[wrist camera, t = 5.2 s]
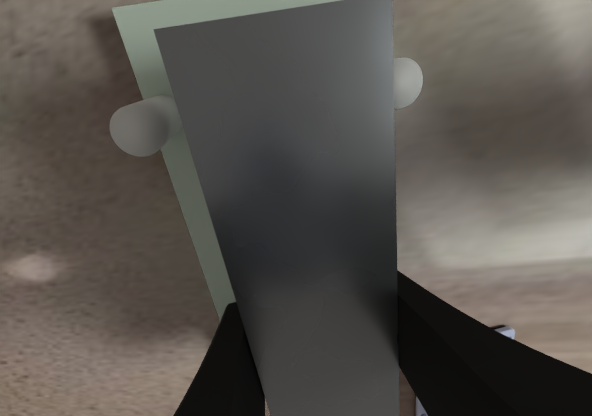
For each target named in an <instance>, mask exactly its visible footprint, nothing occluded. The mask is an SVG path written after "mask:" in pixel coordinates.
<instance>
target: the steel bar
mask: <svg viewBox="0 0 592 416" xmlns="http://www.w3.org/2000/svg"><path fill="white" fill-rule="evenodd" d="M153 30H154V33H155V37H156V40H157V43H158V47H159V50H160V53H161V56H162V60H163V63H164V66H165V70H166V73H167V76H168V79H169V83H170V86H171V89H172V93H173V96H174V99H175V102H176V106H177V109H178V112H179V116H180V119H181V122H182V125H183V129H184V132H185V135H186V139H187V142H188V145H189V148H190V152H191V155H192V158H193V162H194V165H195V168H196V171H197V175H198V178H199V181H200V185H201V188H202V191H203V194H204V198H205V201H206V204H207V208H208V211H209V214H210V217H211V221H212V224H213V227H214V231H215V234H216V237H217V240H218V244H219V247H220V250H221V254H222V257H223V260H224V263H225V267H226V270H227V273H228V277H229V280H230V283H231V286H232V290H233V293H234V296H235V300H236V303H237V306H238V309H239V313H240V316H241V319H242V323H243V326H244V329H245V332H246V336H247V339H248V342H249V346H250V349H251V352H252V355H253V359H254V362H255V365H256V369H257V372H258V375H259V378H260V382H261V385H262V388H263V392H264V395H265V398H266V401H267V405H268V408H269V411H270V415H271V416H400V401H399V345H398V289H397V234H396V178H395V123H394V67H393V12H392V0H340V1H334V2H328V3H321V4H315V5H308V6H302V7H295V8H289V9H282V10H276V11H269V12H263V13H256V14H250V15H243V16H237V17H230V18H224V19H217V20H211V21H204V22H198V23H191V24H185V25H178V26H172V27H166V28H159V29H153Z"/></svg>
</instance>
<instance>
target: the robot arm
mask: <svg viewBox="0 0 592 416" xmlns="http://www.w3.org/2000/svg"><path fill="white" fill-rule="evenodd" d="M397 289H398V345H399V366H400V368H401V370H402V372H403V373H404V375H405V377H406V379H407V380H408V382H409V384H410V385H411V387H412V389H413V391H414V392H415V394H416V416H592V374H591V373H588V372H586V371H583V370H581V369H579V368H576V367H574V366H571V365H569V364H567V363H564V362H562V361H559V360H557V359H555V358H552V357H550V356H548V355H545V354H543V353H541V352H539V351H537V350H534V349H532V348H530V347H528V346H526V345H524V344H522V343H520V342H518V341H516V340H514V335H515V330H514V329H513V328H512V327H510V326H507V327H503V328H499V329H495V330H493V329H492V328H490V327H488V326H486V325H484V324H482V323H481V322H479V321H477V320H475V319H473V318H472V317H470V316H468V315H466V314H465V313H463V312H461V311H459V310H458V309H456V308H454V307H453V306H451V305H449V304H448V303H446V302H445V301H443V300H441V299H440V298H438V297H437V296H435V295H434V294H432V293H430V292H429V291H427V290H426V289H424V288H423V287H421V286H420V285H418V284H417V283H415V282H414V281H412V280H411V279H409V278H408V277H406V276H405V275H403V274H402V273H401V272H399V271H398V270H397ZM174 416H265V395H264V392H263V388H262V385H261V382H260V378H259V375H258V372H257V369H256V365H255V362H254V359H253V355H252V352H251V349H250V346H249V342H248V339H247V336H246V332H245V329H244V326H243V323H242V319H241V316H240V313H239V309H238V306H237V303H236V302H233V303H229V304H228V305H227V306H226V308H225V311H224V313H223V316H222V319H221V321H220V324H219V326H218V329H217V331H216V333H215V336H214V338H213V340H212V343H211V345H210V347H209V349H208V351H207V353H206V355H205V358H204V360H203V362H202V364H201V366H200V368H199V370H198V372H197V374H196V376H195V378H194V379H193V381H192V383H191V385H190V387H189V389H188V391H187V393H186V395H185V396H184V398H183V400H182V402H181V404H180V405H179V407H178V409H177V410H176V412H175V414H174Z"/></svg>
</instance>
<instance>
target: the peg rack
mask: <svg viewBox="0 0 592 416" xmlns="http://www.w3.org/2000/svg"><path fill="white" fill-rule="evenodd" d="M334 1H340V0H162V1H155V2H148V3H142V4H135V5H128V6H121V7H115V8H112V11H113V14H114V17H115V20H116V23H117V25H118V28H119V31H120V34H121V37H122V40H123V43H124V46H125V49H126V51H127V54H128V57H129V60H130V63H131V66H132V69H133V72H134V75H135V77H136V80H137V83H138V86H139V89H140V92H141V95H142V98H143V100H142V101H139V102H136V103H132V104H129V105H126V106H123V107H121V108H119V109H118V110H117V111H116V112H115V113H114V114H113V115H112V117H111V120H110V126H109V127H110V134H111V137H112V139H113V140H114V142H115V143H116V145H117V146H118V147H119V148H120V149H121V150H123V151H124V152H126V153H128V154H130V155H133V156H137V157H147V156H151V155H153V154H155V153H156V152H158V151H159V150H161V152H162V155H163V158H164V161H165V164H166V167H167V170H168V173H169V176H170V178H171V181H172V184H173V187H174V190H175V193H176V196H177V199H178V202H179V204H180V207H181V210H182V213H183V216H184V219H185V222H186V225H187V228H188V230H189V233H190V236H191V239H192V242H193V245H194V248H195V251H196V254H197V256H198V259H199V262H200V265H201V268H202V271H203V274H204V277H205V279H206V282H207V285H208V288H209V291H210V294H211V297H212V300H213V303H214V305H215V308H216V311H217V314H218V317H219V324H220V321H221V319H222V316H223V313H224V311H225V308H226V306H227V305H228V304H229V303H233V302H236V300H235V296H234V293H233V290H232V286H231V283H230V280H229V277H228V273H227V270H226V267H225V263H224V260H223V257H222V254H221V250H220V247H219V244H218V240H217V237H216V234H215V231H214V227H213V224H212V221H211V217H210V214H209V211H208V208H207V204H206V201H205V198H204V194H203V191H202V188H201V185H200V181H199V178H198V175H197V171H196V168H195V165H194V162H193V158H192V155H191V152H190V148H189V145H188V142H187V139H186V135H185V132H184V129H183V125H182V122H181V119H180V116H179V112H178V109H177V106H176V102H175V99H174V96H173V93H172V89H171V86H170V83H169V79H168V76H167V73H166V70H165V66H164V63H163V60H162V56H161V53H160V50H159V47H158V43H157V40H156V37H155V33H154V30H153V29H159V28H166V27H172V26H178V25H185V24H191V23H198V22H204V21H211V20H217V19H224V18H230V17H237V16H243V15H250V14H256V13H263V12H269V11H276V10H282V9H289V8H295V7H302V6H308V5H315V4H321V3H328V2H334ZM393 67H394V109H402V108H405V107H407V106H409V105H410V104H412V103H413V102H414V101H415V100H416V98H417V97H418V95H419V94H420V91H421V89H422V84H423V75H422V71H421V68H420V67H419V65H418V64H417V63H416V62H415V61H414V60H412V59H410V58H393Z"/></svg>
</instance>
